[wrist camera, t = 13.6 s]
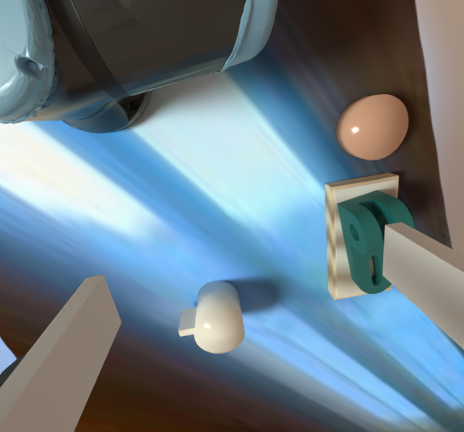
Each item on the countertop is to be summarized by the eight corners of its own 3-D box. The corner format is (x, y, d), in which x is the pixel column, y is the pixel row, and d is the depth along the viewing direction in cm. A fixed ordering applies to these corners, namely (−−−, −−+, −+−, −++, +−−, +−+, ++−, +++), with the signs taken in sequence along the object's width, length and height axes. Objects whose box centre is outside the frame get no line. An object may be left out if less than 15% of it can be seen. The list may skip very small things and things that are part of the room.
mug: (178, 287, 49) (172, 322, 41) (235, 277, 50) (240, 309, 41) (188, 321, 52) (183, 360, 44) (241, 311, 52) (247, 348, 44)
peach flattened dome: (334, 101, 40) (347, 100, 37) (392, 91, 40) (410, 89, 37) (335, 160, 44) (347, 164, 40) (389, 151, 44) (406, 154, 40)
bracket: (336, 203, 43) (363, 221, 36) (377, 189, 43) (412, 204, 35) (353, 290, 49) (379, 321, 42) (389, 279, 49) (421, 308, 42)
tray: (325, 183, 44) (332, 187, 42) (388, 172, 45) (400, 175, 42) (328, 291, 52) (334, 300, 50) (383, 281, 52) (392, 290, 50)
